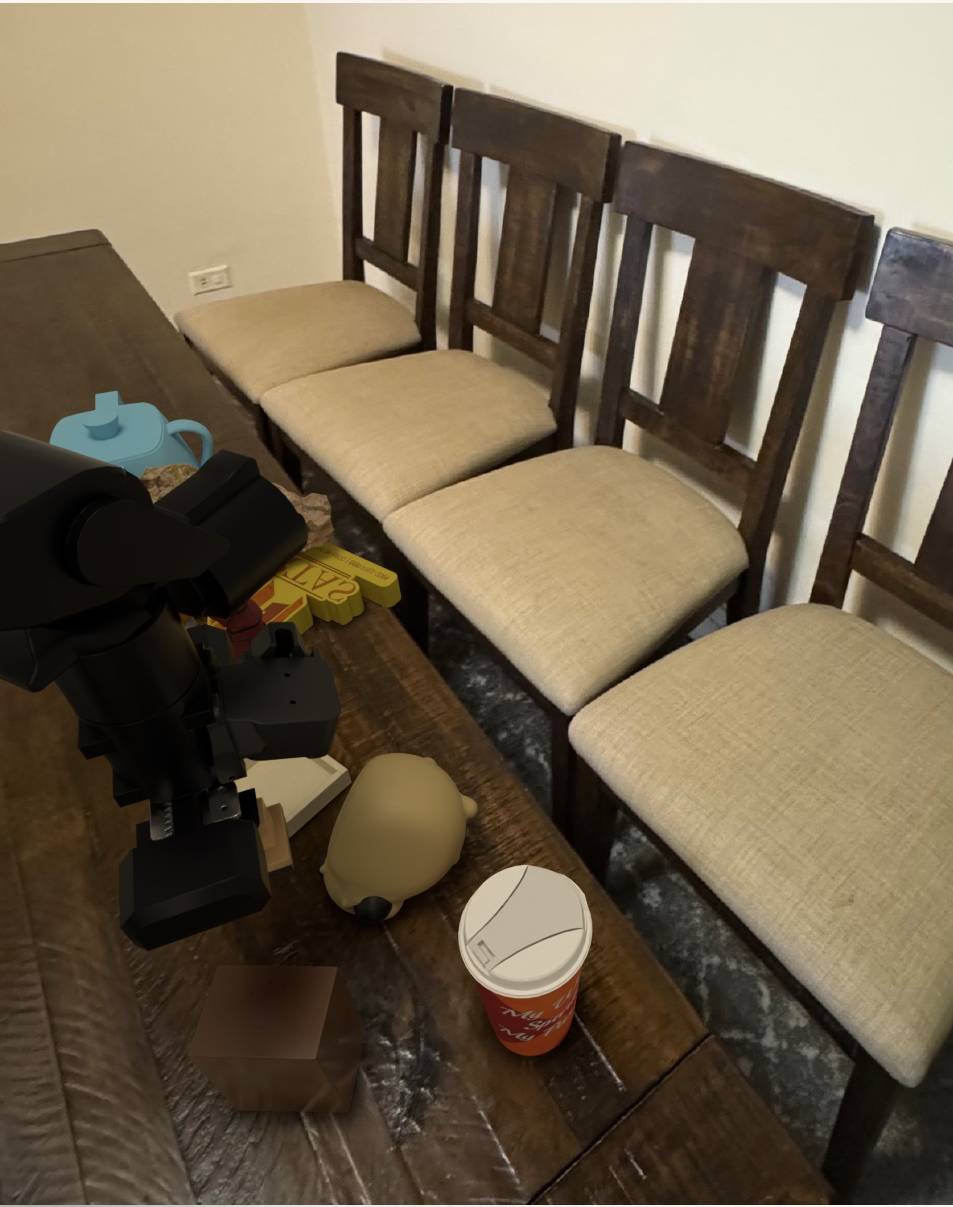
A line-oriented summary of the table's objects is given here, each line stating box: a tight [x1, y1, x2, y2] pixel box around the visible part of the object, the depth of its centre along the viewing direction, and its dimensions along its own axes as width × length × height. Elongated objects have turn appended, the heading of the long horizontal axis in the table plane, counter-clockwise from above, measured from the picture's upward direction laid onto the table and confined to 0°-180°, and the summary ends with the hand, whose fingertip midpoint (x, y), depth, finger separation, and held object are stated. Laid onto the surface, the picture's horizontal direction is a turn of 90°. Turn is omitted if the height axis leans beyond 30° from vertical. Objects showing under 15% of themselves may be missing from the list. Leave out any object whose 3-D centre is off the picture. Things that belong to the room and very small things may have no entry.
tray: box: [234, 754, 352, 839], centre depth 66 cm, size 13×8×2 cm, turn 145°
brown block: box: [186, 963, 367, 1114], centre depth 50 cm, size 7×5×10 cm
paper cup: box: [457, 864, 593, 1057], centre depth 52 cm, size 8×8×14 cm
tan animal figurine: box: [316, 752, 479, 925], centre depth 61 cm, size 10×12×11 cm
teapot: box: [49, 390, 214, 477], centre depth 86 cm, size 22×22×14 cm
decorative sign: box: [206, 541, 402, 636], centre depth 83 cm, size 20×3×15 cm
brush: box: [257, 797, 295, 881], centre depth 50 cm, size 6×4×4 cm
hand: (230, 844), depth 50 cm, fingers closed on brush, 2 cm apart
